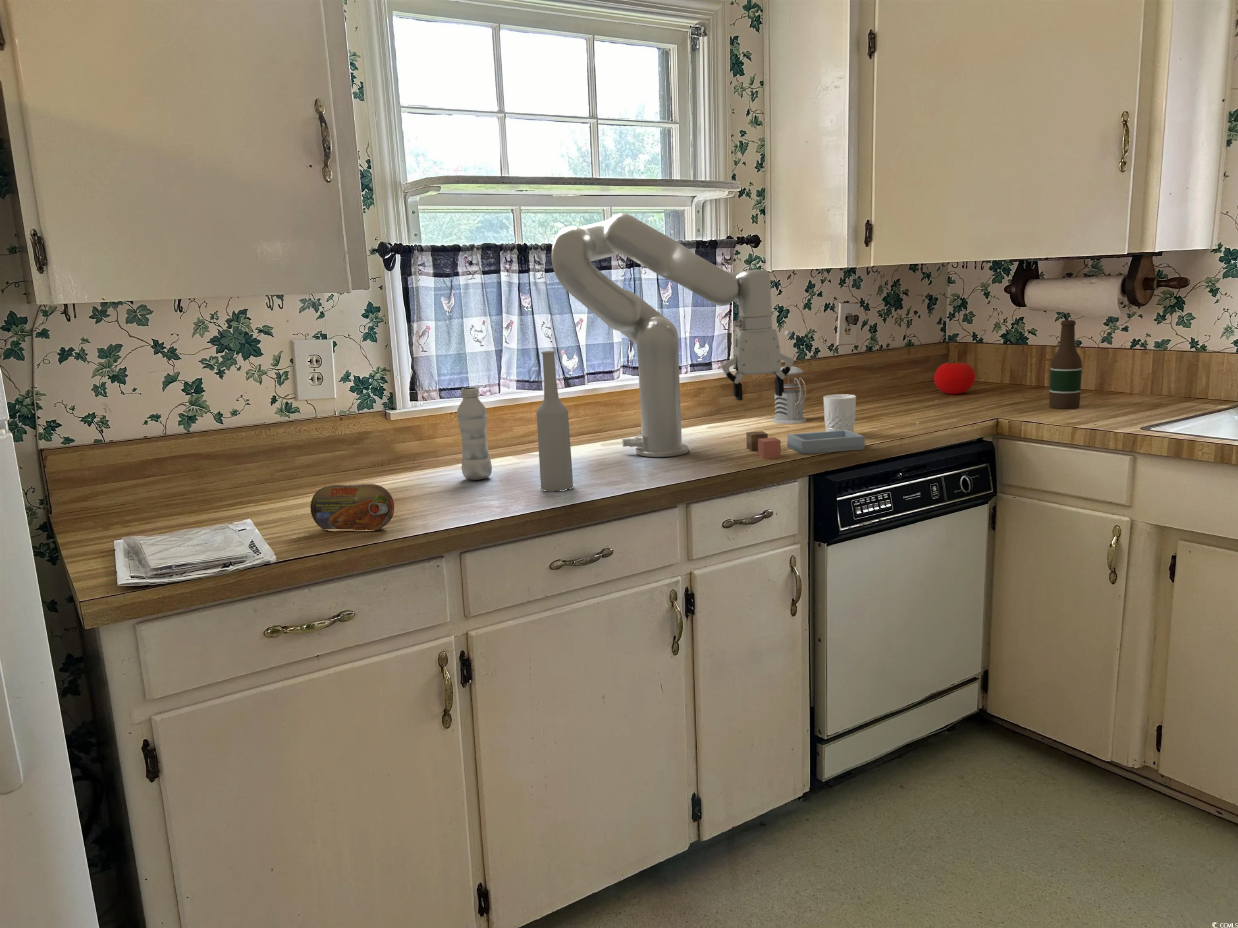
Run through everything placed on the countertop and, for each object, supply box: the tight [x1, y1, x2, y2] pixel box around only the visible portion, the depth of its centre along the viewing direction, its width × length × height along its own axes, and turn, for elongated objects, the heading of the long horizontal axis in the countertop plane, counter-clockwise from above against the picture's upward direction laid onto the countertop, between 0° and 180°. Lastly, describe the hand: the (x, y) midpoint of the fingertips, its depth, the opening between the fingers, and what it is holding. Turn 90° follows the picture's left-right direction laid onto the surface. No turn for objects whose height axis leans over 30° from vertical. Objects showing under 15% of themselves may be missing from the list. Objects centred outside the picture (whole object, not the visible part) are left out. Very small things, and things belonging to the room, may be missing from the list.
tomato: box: [933, 360, 976, 395], centre depth 287 cm, size 11×12×10 cm
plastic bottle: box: [456, 386, 493, 481], centre depth 196 cm, size 6×7×20 cm
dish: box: [786, 430, 866, 455], centre depth 213 cm, size 15×10×3 cm, turn 99°
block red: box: [757, 436, 782, 460], centre depth 207 cm, size 4×4×4 cm
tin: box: [309, 483, 395, 531], centre depth 161 cm, size 15×3×8 cm, turn 80°
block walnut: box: [745, 430, 769, 452], centre depth 215 cm, size 4×4×4 cm
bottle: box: [536, 350, 574, 492], centre depth 183 cm, size 7×7×28 cm
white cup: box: [822, 393, 857, 433], centre depth 226 cm, size 8×8×10 cm
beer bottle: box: [1048, 319, 1083, 410], centre depth 250 cm, size 8×8×24 cm
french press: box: [771, 330, 807, 425], centre depth 250 cm, size 10×12×25 cm
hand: (759, 397), depth 213 cm, fingers open, 9 cm apart
